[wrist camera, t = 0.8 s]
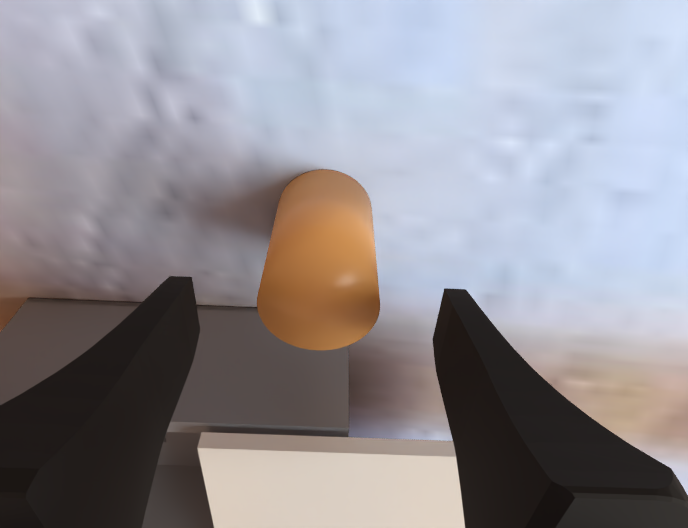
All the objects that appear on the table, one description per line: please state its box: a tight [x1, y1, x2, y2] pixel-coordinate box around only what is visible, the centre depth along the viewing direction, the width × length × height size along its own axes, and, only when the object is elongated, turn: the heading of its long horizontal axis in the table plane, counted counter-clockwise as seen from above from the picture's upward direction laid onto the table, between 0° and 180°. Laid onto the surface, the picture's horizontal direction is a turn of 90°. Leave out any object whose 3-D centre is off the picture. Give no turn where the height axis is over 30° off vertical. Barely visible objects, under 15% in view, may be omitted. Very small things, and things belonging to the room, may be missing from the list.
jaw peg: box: [257, 170, 380, 350], centre depth 16 cm, size 4×4×6 cm
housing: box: [0, 298, 349, 528], centre depth 22 cm, size 10×14×6 cm
